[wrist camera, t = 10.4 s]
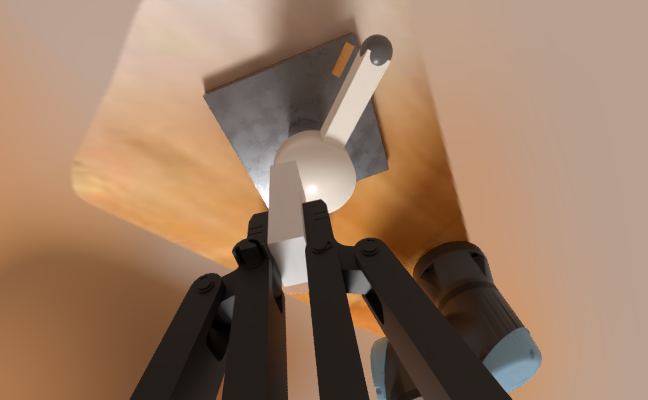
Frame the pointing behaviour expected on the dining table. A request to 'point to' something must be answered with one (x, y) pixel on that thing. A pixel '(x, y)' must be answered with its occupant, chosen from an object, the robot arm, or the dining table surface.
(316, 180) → the coupling lever handle
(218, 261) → the dining table surface
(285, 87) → the base
